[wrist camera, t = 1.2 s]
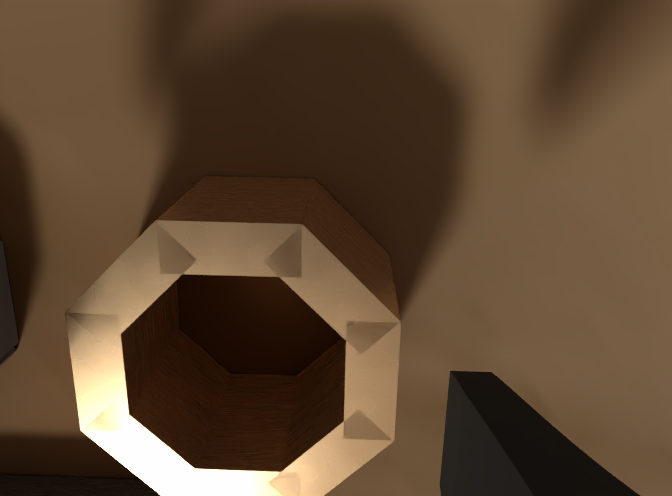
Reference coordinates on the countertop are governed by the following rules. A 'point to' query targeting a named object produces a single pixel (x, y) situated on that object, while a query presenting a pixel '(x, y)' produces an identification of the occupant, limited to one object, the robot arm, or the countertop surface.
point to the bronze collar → (215, 381)
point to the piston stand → (72, 486)
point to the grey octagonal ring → (6, 313)
